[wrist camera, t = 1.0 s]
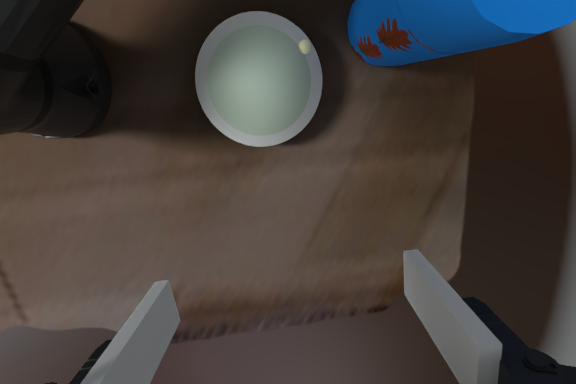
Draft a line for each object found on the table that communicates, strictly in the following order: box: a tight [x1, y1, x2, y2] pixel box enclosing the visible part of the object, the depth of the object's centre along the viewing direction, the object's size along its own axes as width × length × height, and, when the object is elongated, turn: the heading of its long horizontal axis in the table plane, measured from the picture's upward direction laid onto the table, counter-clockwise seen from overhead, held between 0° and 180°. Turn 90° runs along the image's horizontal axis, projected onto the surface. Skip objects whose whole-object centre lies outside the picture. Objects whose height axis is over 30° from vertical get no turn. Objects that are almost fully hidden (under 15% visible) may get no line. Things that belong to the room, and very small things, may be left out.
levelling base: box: [195, 11, 322, 147], centre depth 39 cm, size 16×16×4 cm
